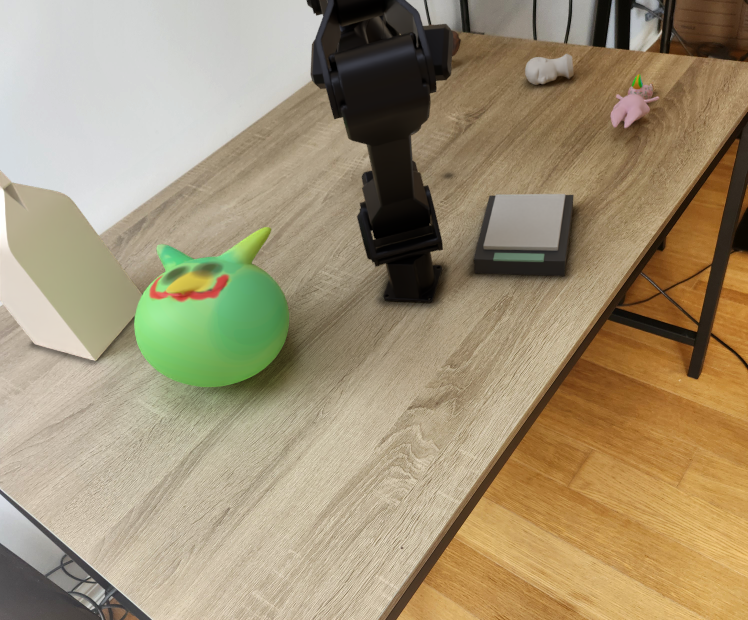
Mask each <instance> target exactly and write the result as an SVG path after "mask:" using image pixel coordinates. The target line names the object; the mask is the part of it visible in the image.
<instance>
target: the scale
mask: <svg viewBox="0 0 748 620" xmlns="http://www.w3.org/2000/svg"><path fill="white" fill-rule="evenodd" d="M574 196H575V195H574V194H566V193H524V194H523V193H513V194H511V193H509V194H508V193H506V194H505V193H503V194H502V193H501V194H499V193H498V194H493V195H492V194H490V195H489V196H488V200H487V204H486V207H485V212H484V215H483V219H482V223H481V228H480V232H479V235H478V239H477V243H476V247H475V250H474V254H473V255H474V256H473V267H474V274H481V275H482V274H483V275H486V274H487V275H488V274H489V275H515V276H516V275H521V276H550V277H552V276H553V277H565V275H566V269H567V261H568V253H569V244H570V238H571V237H570V236H571V229H572V221H573V214H574V199H575V197H574Z"/></svg>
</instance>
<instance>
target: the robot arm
mask: <svg viewBox="0 0 748 620" xmlns="http://www.w3.org/2000/svg"><path fill="white" fill-rule="evenodd" d="M305 1H306V4H307V7H309V8H311V9H312V12H313V15H314V14H315V16H317V17H318V16H321V15H322V18H321V21H320V25H319V27H318V30H317V32H316V35H315V38H314V40H312V41H313V42H312V43H311V56H310V78H311V81H312V83H313V84H314V85H315V86H316V87H318V88H319V89H320V90H324V89H325V90H326V94H327V97H328V103H329V106H330V110H331V113H332V117H333V120H337V119H342V121H343V125H344V127H345V131H346V135H347V138H348V140H350V141H351V142H355V143H359V144H363V145H366V148H367V154H368V159H369V163H370V169H371V170H367V171H364V172H363V173H362V174H361V183H362V188H361V189H362V194H363V198H364V201H361V202H359V207H360V208H358V210H359V211H358V214H357V215H356V218H357V223H358V227H359V231H360V234H361V238H362V242H363V243H362V244H363V248H364V250H365V255H366V258H367V259H368V260H370V261H371V262H372V263H373V264H374V267H375V268H377V267H380V266H383V265H385V267H386V271H387V275H388V281H387V283H386V287H385V290H384V293H383V296H382V297H383V300H384V301H386V302H401V303H402V302H403V303H404V302H407V303H425V304H426V303H427V304H431V303H433V302H434V301H435V298H436V294H437V290H438V287H439V283H440V279H441V276H442V274H443V265H441V264H433V263H434V262H433V259H432V253H433V252H437V251H443V250H444V247H443V244H444V243H443V238H442V234H441V230H440V225H439V221H438V218H437V213H436V209H435V205H434V200H433V197H432V193H431V189H430V185H428V184H426V185H424V181H423V178H422V174H421V172H419V170H418V166H417V162H416V161H414V160H413V147H412V145H413V144H412V135H411V133H413V132H414V131H415V130H416V129H417V128H419V127H420V126H421V127H422V125H424V124H425V123H426V122H427V121H428V120H429V119H430V112H431V101H432V100H431V94H434V93H437V89H438V88H437V86H438V85H437V82H441V81H442V82H443V81H447V80H448V79H449V78H450V77H451V76H452V65H453V64H452V63H453V56H452V48H453V33H452V31H453V30H452V28H451V27H450V26H449V25H448V24H447V23H440V24H429V25H423V24H424V23H423V21H422V17H421V14H420V12H419V11H418V9H417V8H416V7H414V6H413V5H412V4H411V3H410V2H408V1H407V0H305ZM451 30H452V31H451Z"/></svg>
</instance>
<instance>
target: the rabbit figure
mask: <svg viewBox="0 0 748 620" xmlns="http://www.w3.org/2000/svg"><path fill="white" fill-rule="evenodd" d="M654 92H655V85H654V81H652V82H651V83H650V84H649V85H648V84H644V83H643V81H642V75H641V73H638V74H637V75H636V76H635V77H634V79H633V81H632V83H631V86H630V87H629V88H628V90H627V95H625V96H622V95H620V94H618V93H617V94H615V98H616V99H618V100H619V101H618V102H617V103H616V104H615V105H614V106H613V108H612V110H611V112H610V121H611V125H612V127H613V128H614V129H615V128H617V127H618V125H619V124H620V123H621V122H622V121H623V122H624V125H623V126H624V127H623V128H624V129H628V128H629V127H630V126H631V125H632V124H633V123H634V122H636V121H638V120H640V119H642V118H643V117H645V116H646V115H648V114H649V113H650V111H651V108H650V106H649V105H648V104H649V103H650V104H651V103H654V102H656V101H659V100H660V96H654V97H653V94H654Z"/></svg>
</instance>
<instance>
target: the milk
mask: <svg viewBox="0 0 748 620" xmlns="http://www.w3.org/2000/svg"><path fill="white" fill-rule="evenodd" d="M142 295H143V293H142V292H141V291H140V289H138V287H137V286H136V284H135V283H134V281H133V280H132V279H131V278H130V276H129V275H128V273H127V272H126V270H125V269H124V268H123V267H122V265H121V264H120V262H119V261H118V259H117V258H116V257H115V255H114V254H113V253H112V252H111V250H110V249H109V248H108V246H107V245H106V243H105V242H104V241H103V239H102V238H101V237H100V235H99V234H98V232H97V231H96V230H95V228H94V227H93V226H92V224H91V223H90V221H89V220H88V219H87V218H86V216H85V214H84V213H83V212H82V211H81V209H80V208H79V206H78V205H77V204H76V202H75V201H74V200H73V199H72V198H71V197H70V196H69V195H67V194H65V193H63V192H60V191H57V190H53V189H48V188H43V187H39V186H32V185H28V184H23V183H22V184H21V183H17V182H12V180H11V179H10V178H9V177H8V176H7V175H6V174H5V173H4V172H3V171H2V170H1V169H0V303H1V304H2V306H4V308H5V309H6V310H7V311H8V312H9V314H10V315H11V317H12V318H13V319H14V320H15V322H16V323H17V324H18V326H20V328H21V329H22V330H23V332H24V333H25V334H26V335H27V337H28V338H29V339H30V340H31V342H33V344H34V345H36V346H40V347H43V348H47V349H51V350H54V351H58V352H60V353H61V352H62V353H65V354H69V355H73V356H76V357H79V358H83V359H86V360H91V361H94V362H96V361H97V360H98V359H99V358H100V357H101V356H102V355H103V353H104V352H105V351H106V350H107V349H108V348H109V346H110V345H111V344H112V343H113V342H114V341H115V340H116V338H117V337H118V336H119V335H120V334H121V333H122V331H123V330H124V329H125V328H126V327H127V325H128V324H130V322H131V321H132V320H133V319H134V318H135V313H136V309H137V306H138V303H139V301H140V298H141V296H142Z"/></svg>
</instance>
